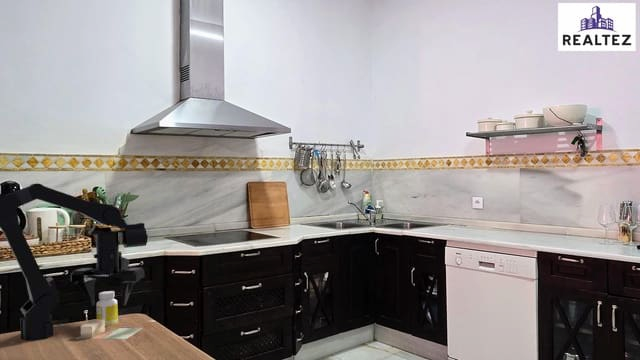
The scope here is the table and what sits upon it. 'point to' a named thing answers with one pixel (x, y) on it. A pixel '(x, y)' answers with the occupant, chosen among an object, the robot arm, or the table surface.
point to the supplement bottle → (107, 308)
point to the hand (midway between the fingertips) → (108, 305)
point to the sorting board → (115, 333)
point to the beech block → (92, 328)
